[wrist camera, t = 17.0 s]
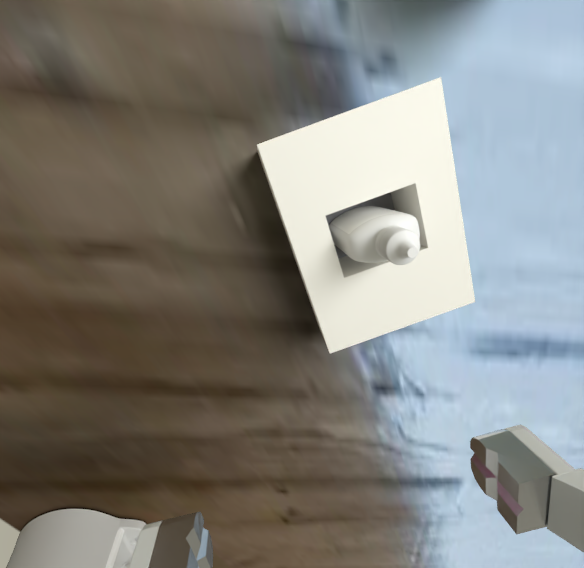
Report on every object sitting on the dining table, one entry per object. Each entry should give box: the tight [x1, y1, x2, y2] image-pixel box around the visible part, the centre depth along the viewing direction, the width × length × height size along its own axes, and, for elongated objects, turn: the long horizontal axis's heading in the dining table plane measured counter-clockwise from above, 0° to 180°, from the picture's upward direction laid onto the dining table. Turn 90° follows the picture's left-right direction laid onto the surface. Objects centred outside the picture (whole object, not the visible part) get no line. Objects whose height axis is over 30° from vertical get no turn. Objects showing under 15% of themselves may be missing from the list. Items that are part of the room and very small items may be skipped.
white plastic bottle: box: [329, 206, 420, 265], centre depth 25 cm, size 4×6×12 cm
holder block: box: [257, 77, 475, 353], centre depth 29 cm, size 18×14×6 cm
